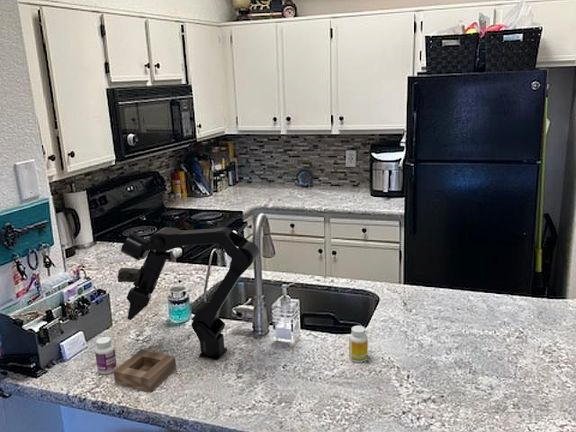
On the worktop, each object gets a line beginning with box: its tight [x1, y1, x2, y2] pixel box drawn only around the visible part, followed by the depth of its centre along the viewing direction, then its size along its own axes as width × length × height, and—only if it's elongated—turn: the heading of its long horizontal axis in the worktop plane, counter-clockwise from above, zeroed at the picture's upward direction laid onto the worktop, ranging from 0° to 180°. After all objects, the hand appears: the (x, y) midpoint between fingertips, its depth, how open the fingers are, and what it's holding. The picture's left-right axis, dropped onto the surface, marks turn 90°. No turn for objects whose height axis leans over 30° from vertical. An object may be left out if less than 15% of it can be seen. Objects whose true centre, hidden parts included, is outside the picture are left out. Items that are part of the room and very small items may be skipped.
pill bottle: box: [94, 336, 118, 375], centre depth 151 cm, size 5×5×10 cm
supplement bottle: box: [348, 325, 369, 363], centre depth 152 cm, size 5×5×10 cm
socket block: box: [112, 349, 177, 393], centre depth 148 cm, size 12×12×4 cm
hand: (131, 313), depth 156 cm, fingers open, 9 cm apart
